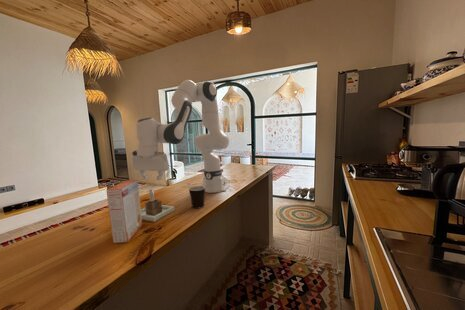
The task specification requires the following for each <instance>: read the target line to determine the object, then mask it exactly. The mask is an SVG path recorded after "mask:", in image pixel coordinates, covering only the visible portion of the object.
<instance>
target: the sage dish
mask: <svg viewBox="0 0 465 310" xmlns="http://www.w3.org/2000/svg"><path fill="white" fill-rule="evenodd" d="M173 212H175V206H172V205H164V204H162V212H160V213H159V214H157V215H155V216H153V215H147V214H146V209H145V207H144V208H142V209H141V217H142V221H147V222H152V223H155V222H157V221H159V220H161V219H162V218H165V217H166V216H168V215H169V214H171V213H173Z"/></svg>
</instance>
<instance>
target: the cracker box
mask: <svg viewBox="0 0 465 310" xmlns="http://www.w3.org/2000/svg"><path fill="white" fill-rule="evenodd" d="M139 189H140V188H139V181H138V179H133V180H132V179H131V180H130V179H128V180H126V179H125V180H124V181H122V182H120V183H118V184H115V185H114V186H112V187H110V188H108V189H106V197H107V206H108V213H109V219H110V228H111V235H112V243H113V244H123V243H129V242H130V241H131V239H132V238H133V237H134V236H135V234H136V233H137V232H138V231H139V230H140V229H141V227H142V226H143V220H142V217H141V208H142V207H141V199H140V192H139V191H140V190H139Z"/></svg>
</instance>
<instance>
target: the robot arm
mask: <svg viewBox="0 0 465 310" xmlns="http://www.w3.org/2000/svg"><path fill="white" fill-rule="evenodd" d="M217 94H218V89H217V85H216V84H215V83H214V82H213V81H209V80H208V81H200V82H197V83H195V82H194V81H192V80H191V79H185V80H183V81H182V82H181V83H180V84H179V86H177V88H176V89H175V91H174V93H173V94H172V97H171V100H170V101H171V105H172V107H174V109H176V111H178V112H177V114H176V117H175V119H174V120H173V122H171V123H167V124H166V123H165V124H164V123H161V122H158V121H157V120H156V119H155V118H154V117H146V118H145V117H144V118H140V119H139V120H137V122H136V137H137V141H138V145H137V147H138V148H137V149H134V150H132V151H131V156H132V157H131V158H132V159H131V161H132V162H131V163H132V168H133V169H134V170H135V171H139V174H140V175H141V176H142V179H143V180H146V179H148V174H146V171H147V172H151V171H152V172H157V174H158V175H157V176H156V180H157V181H162V179H163V174H164V172H168V170H170V164H169V160H168V157H167V153H165V152H164V151H159V149H160V148H159V144H170V145H178V144H180V143H181V142H182V141H183V140H184V139H185V138H184V137H185V133H186V128H187V124H188V122H189V120H190V117H191V114H192V110H193V105H192V104H193V103H197V102H198V103H200V104H201V123H202V126H203V127H204V128H205V129H207V130H208V133H202V134H198V135H196V136H195V138H194V141H193V143H194V146H195V148H196V149H197V150H198V151H199V152H200V153H201V156H202V158H203V166H204V170H203V176H204V177H203V178H202V186H203V187H205V193H214V194H215V193H220V192H226V191H227V190H228V189H229V188H230V186H231V184H230V183H228V182H227V177H226V176H224V174H223V173H224V168H221V158H220V156H218V155H217V154H216V153H215V151H220V150H221V151H222V150H226V149H227V148H228V147H229V145H230V139H229V137H228V135H227V134H225V132H223V130H222V129H221V128H222V127H221V125H220V120H219V118H220V117H219V107H218V101H217V98H216V97H217Z"/></svg>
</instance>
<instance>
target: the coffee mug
mask: <svg viewBox="0 0 465 310" xmlns="http://www.w3.org/2000/svg"><path fill="white" fill-rule="evenodd" d="M188 191H189V197H190V203H191V208H193V209H201V208H203V207H204V206H205V195H206V192H205V187H203V185H197V186H192V187H189V189H188Z"/></svg>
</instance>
